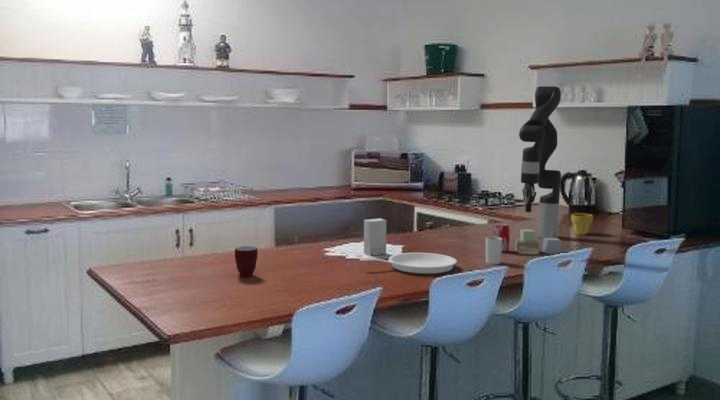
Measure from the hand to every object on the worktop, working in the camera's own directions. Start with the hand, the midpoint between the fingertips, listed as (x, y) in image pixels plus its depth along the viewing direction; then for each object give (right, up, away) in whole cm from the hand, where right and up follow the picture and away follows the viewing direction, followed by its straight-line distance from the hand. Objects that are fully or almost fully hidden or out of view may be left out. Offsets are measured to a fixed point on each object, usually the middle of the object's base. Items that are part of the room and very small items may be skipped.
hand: (528, 211), depth 286 cm
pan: (-55, -22, -32) cm, 67 cm away
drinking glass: (-19, -20, -19) cm, 34 cm away
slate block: (+11, -18, +3) cm, 21 cm away
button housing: (0, -18, +2) cm, 18 cm away
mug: (-115, -22, -46) cm, 126 cm away
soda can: (-11, -18, +4) cm, 21 cm away
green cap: (0, -13, +2) cm, 13 cm away
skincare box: (-67, -18, -7) cm, 69 cm away
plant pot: (+40, -12, +51) cm, 66 cm away
